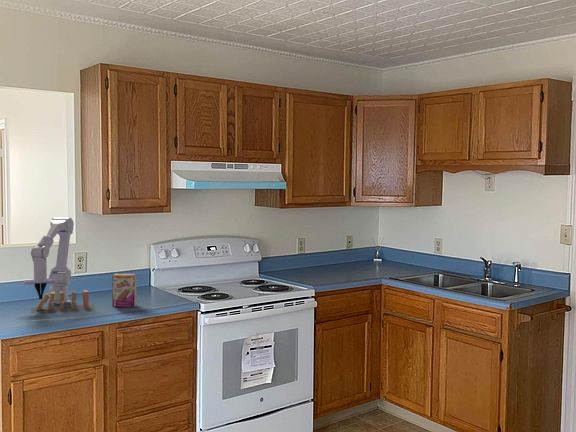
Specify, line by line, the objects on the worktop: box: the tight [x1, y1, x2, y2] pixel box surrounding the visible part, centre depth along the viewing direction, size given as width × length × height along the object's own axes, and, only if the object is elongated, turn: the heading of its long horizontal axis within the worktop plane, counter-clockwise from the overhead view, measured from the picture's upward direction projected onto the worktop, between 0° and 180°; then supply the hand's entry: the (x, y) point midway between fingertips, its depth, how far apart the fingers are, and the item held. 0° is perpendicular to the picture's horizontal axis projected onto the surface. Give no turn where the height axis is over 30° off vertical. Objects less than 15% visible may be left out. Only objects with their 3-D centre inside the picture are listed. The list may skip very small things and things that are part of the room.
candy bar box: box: [111, 273, 137, 308], centre depth 294 cm, size 11×5×16 cm, turn 92°
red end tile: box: [82, 289, 90, 308], centre depth 291 cm, size 2×5×8 cm, turn 26°
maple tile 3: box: [59, 291, 65, 310], centre depth 287 cm, size 2×5×8 cm, turn 21°
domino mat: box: [29, 303, 95, 314], centre depth 288 cm, size 29×12×1 cm, turn 110°
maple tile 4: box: [71, 290, 77, 309], centre depth 289 cm, size 2×5×8 cm, turn 21°
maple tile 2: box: [47, 292, 55, 310], centre depth 285 cm, size 2×5×8 cm, turn 21°
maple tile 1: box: [36, 292, 50, 311], centre depth 284 cm, size 2×5×8 cm
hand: (40, 298), depth 284 cm, fingers closed
